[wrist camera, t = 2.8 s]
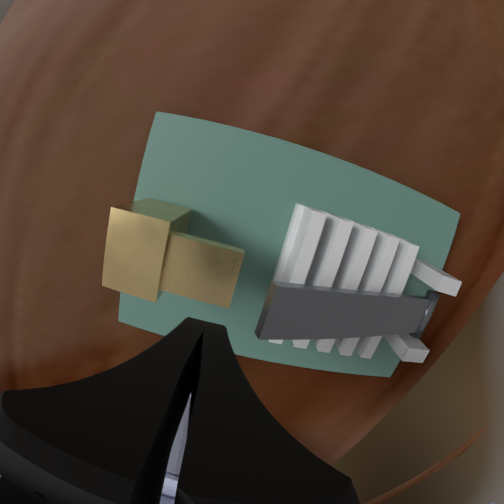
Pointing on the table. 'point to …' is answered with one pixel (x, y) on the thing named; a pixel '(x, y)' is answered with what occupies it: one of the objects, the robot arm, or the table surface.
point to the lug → (166, 255)
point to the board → (292, 237)
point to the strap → (340, 313)
